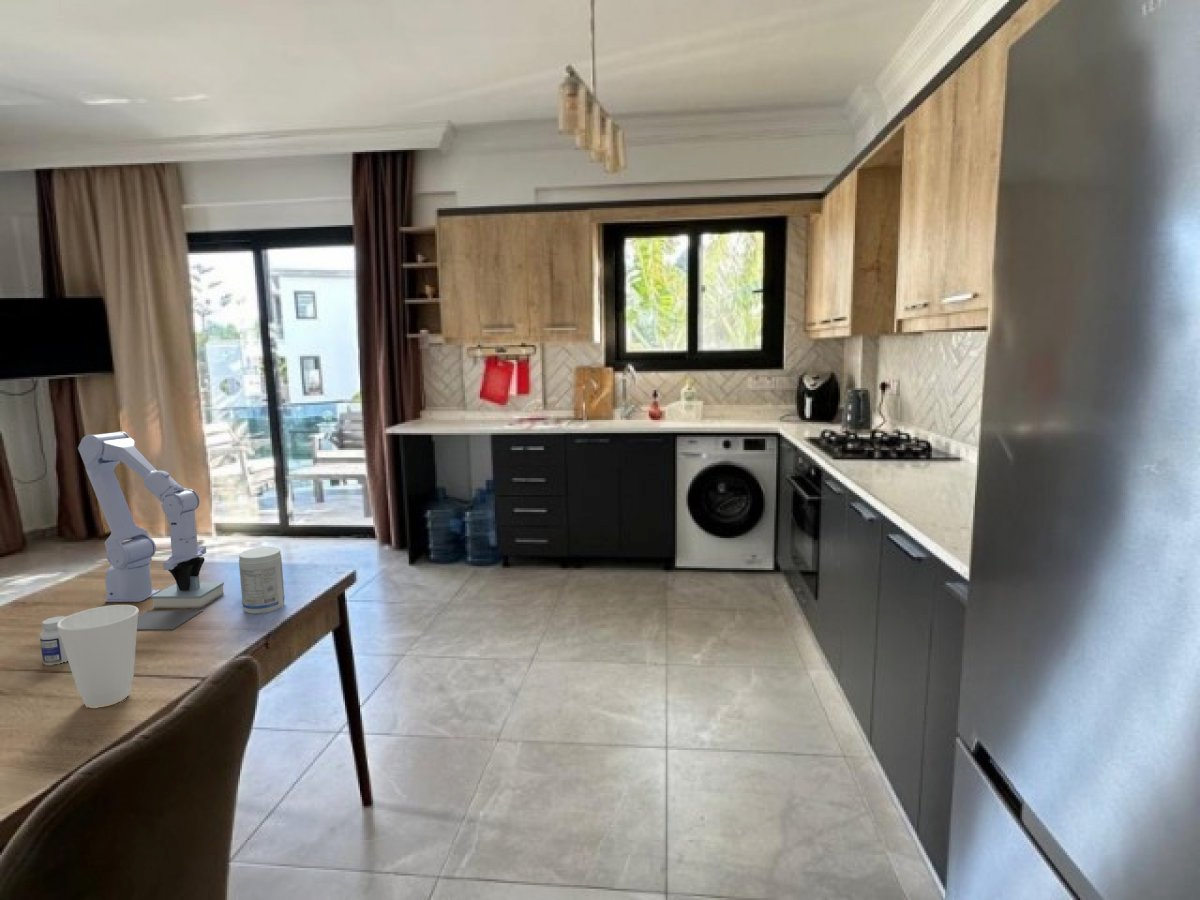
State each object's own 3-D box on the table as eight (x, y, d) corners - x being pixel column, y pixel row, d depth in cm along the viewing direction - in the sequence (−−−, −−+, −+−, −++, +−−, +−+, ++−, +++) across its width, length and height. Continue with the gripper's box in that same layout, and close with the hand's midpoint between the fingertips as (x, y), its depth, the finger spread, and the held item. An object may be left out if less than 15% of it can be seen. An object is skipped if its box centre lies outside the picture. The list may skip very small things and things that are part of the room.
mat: (114, 630, 150) (114, 629, 150) (148, 611, 162) (148, 610, 162) (172, 630, 150) (172, 628, 150) (202, 611, 162) (202, 610, 162)
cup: (55, 722, 112) (45, 634, 110) (78, 690, 123) (69, 610, 121) (138, 707, 117) (129, 622, 114) (153, 678, 127) (145, 600, 125)
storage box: (153, 608, 164) (152, 598, 164) (178, 594, 174) (177, 584, 174) (200, 608, 164) (200, 598, 164) (223, 594, 174) (222, 584, 174)
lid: (151, 598, 164) (149, 584, 163) (177, 584, 174) (176, 571, 173) (200, 598, 164) (199, 584, 163) (223, 584, 174) (222, 570, 173)
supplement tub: (255, 600, 169) (251, 546, 167) (291, 601, 169) (288, 546, 167) (234, 615, 160) (230, 557, 158) (273, 615, 159) (268, 557, 157)
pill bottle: (67, 652, 139) (62, 613, 138) (81, 657, 137) (76, 617, 135) (37, 663, 134) (32, 622, 133) (51, 668, 132) (46, 626, 131)
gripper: (181, 545, 160) (186, 597, 161) (215, 530, 174) (219, 578, 176) (152, 545, 160) (157, 598, 161) (189, 530, 174) (193, 578, 176)
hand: (188, 588), depth 169 cm, fingers open, 3 cm apart
